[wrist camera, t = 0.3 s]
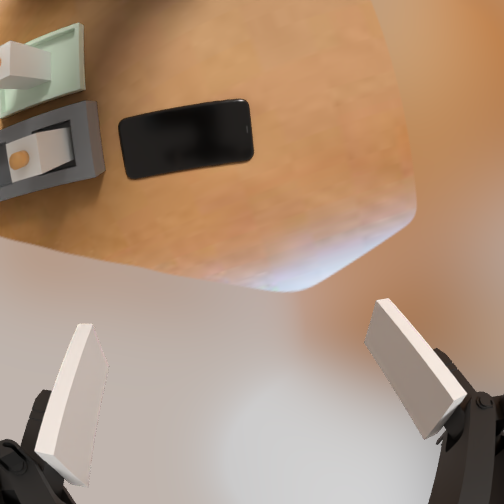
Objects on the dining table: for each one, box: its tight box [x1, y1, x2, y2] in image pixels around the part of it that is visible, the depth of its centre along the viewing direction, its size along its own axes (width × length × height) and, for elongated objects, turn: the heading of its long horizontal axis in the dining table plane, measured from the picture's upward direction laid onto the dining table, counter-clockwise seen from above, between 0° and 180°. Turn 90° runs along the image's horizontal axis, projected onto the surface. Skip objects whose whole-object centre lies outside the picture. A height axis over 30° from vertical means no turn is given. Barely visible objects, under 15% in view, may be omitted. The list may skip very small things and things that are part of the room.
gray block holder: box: [0, 100, 106, 201], centre depth 25 cm, size 9×20×12 cm, turn 93°
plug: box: [0, 41, 51, 90], centre depth 20 cm, size 4×4×12 cm
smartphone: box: [118, 99, 254, 179], centre depth 34 cm, size 8×1×16 cm
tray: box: [0, 22, 86, 119], centre depth 25 cm, size 9×13×2 cm
